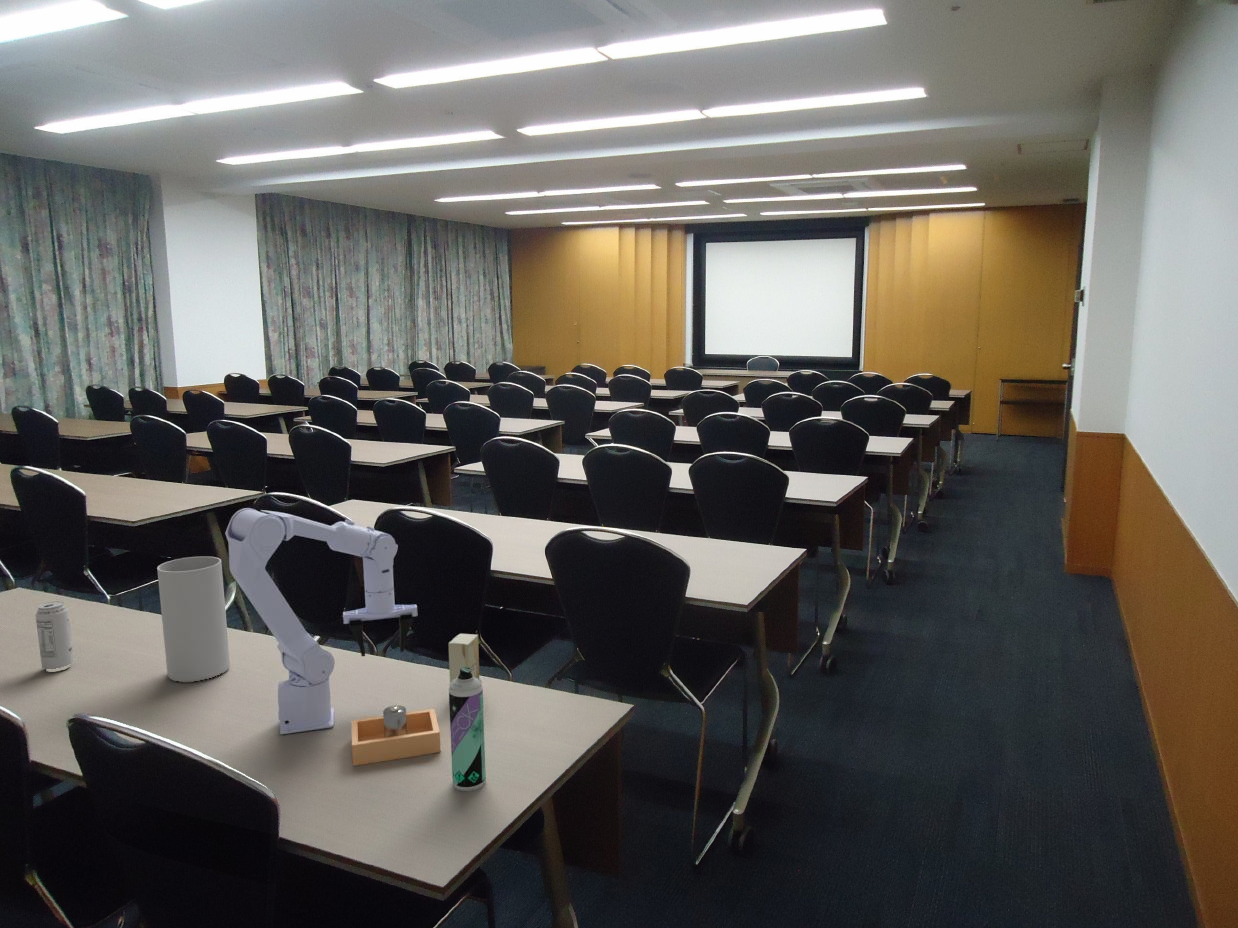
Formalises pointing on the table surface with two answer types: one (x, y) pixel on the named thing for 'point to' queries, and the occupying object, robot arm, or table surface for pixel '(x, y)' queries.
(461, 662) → the skincare box
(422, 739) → the trough
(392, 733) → the cell
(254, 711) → the table surface
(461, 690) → the spray can
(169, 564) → the cylinder vase
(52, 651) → the energy drink can
